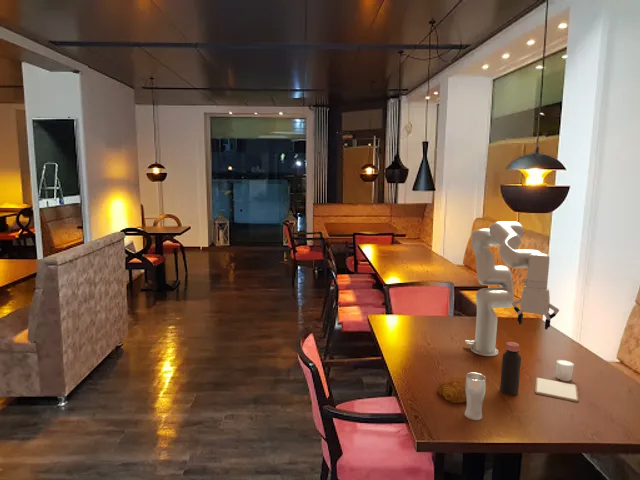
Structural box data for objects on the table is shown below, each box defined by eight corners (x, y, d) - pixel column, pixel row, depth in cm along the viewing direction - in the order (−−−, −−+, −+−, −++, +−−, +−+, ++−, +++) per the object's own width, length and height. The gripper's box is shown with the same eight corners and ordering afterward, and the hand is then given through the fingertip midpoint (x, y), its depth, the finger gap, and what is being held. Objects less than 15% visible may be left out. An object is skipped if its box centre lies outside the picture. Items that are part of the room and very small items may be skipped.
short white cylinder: (571, 376, 204) (572, 360, 203) (573, 382, 197) (575, 366, 196) (553, 373, 206) (555, 358, 205) (555, 380, 200) (557, 364, 198)
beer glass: (460, 411, 172) (462, 372, 170) (478, 410, 173) (481, 372, 170) (467, 421, 165) (470, 380, 163) (486, 420, 166) (490, 380, 164)
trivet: (534, 393, 187) (535, 391, 187) (535, 378, 200) (536, 376, 200) (578, 402, 180) (578, 400, 180) (576, 386, 194) (576, 384, 194)
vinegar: (509, 397, 183) (513, 348, 180) (496, 390, 189) (499, 342, 186) (521, 393, 186) (526, 345, 184) (507, 386, 192) (511, 339, 189)
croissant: (483, 403, 183) (487, 383, 182) (457, 408, 175) (461, 387, 174) (455, 387, 195) (458, 369, 194) (428, 391, 186) (432, 372, 186)
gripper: (511, 282, 188) (508, 324, 190) (559, 289, 178) (555, 333, 180) (516, 279, 194) (513, 319, 196) (562, 285, 184) (558, 328, 186)
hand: (533, 326), depth 188 cm, fingers open, 9 cm apart
